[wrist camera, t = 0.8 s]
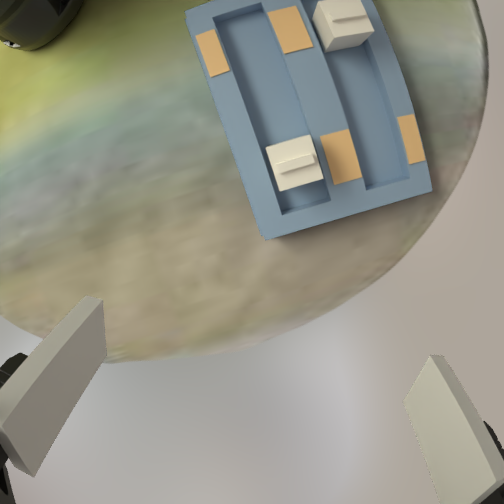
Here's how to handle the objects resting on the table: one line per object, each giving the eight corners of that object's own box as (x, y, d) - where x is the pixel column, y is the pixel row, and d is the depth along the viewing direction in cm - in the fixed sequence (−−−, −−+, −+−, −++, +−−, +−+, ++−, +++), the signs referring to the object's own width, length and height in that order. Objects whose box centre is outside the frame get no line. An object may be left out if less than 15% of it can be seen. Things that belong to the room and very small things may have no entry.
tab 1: (266, 146, 32) (265, 148, 26) (303, 135, 31) (310, 134, 25) (278, 183, 33) (280, 192, 27) (315, 172, 32) (324, 179, 27)
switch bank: (187, 22, 29) (179, 12, 25) (354, -19, 25) (361, -31, 22) (261, 233, 36) (260, 242, 33) (423, 185, 33) (437, 190, 30)
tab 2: (311, 20, 27) (318, -2, 21) (345, 14, 26) (359, -7, 20) (324, 52, 28) (335, 35, 22) (359, 46, 27) (376, 29, 22)
